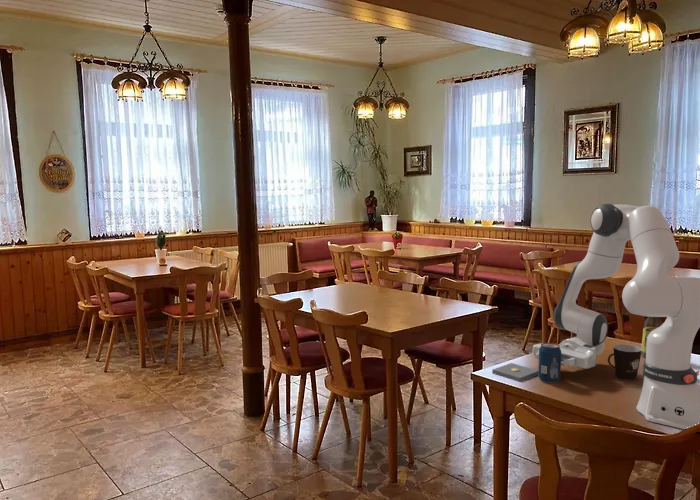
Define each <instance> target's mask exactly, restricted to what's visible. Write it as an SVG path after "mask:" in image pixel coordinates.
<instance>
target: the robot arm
mask: <svg viewBox="0 0 700 500" xmlns="http://www.w3.org/2000/svg"><path fill="white" fill-rule="evenodd" d="M590 227H591V229H592V231H593V234H592V235H591V238H590V240H589V241H590V242H589V245H588V249H587V253H586V255H585V257H584V258H583V259H582V260H581V261H578V262H576V264H575V265H574V267H573V268H572V271H571V272H570V275H569V277H568V280H567V282H566V285H565V287H564V290H563V292H562V295H561V297H560V300H559V302H558V303H557V305H556V307H555V309H554V310H553V314H552V319H553V321H554V324H555V326H556V327H557V328H558V329H561V330H565V331H569V332H571V333H573V334H575V336H573V337H570V338H566V339H563V341H561V342H560V343H559V344H558V345H559V347H560V350H561V366H563V367H567V366H572V367H577V368H581V369H585V370H586V369H591V368H594V367H596V364H597V357H598V356H599V355H600V354H601V353H602V352H603V350H604V349H605V346H606V344H605V343H606V341H605V340H606V338H607V335H608V331H609V323H608V320H607V318H606V316H605V315H604V314H603V313H599V312H597V311H595V310H591V309H588V308H586V307H583V306H580V305H578V304H577V302H576V301H577V299H578V296H579V293H580V291H581V289H582V286H583V284H584V283H585V282H586V281H587V280H598V279H607V278H610V277H612V276H614V275H616V273H618V272H619V270H620V268H621V265H622V261H623V258H624V253H625V248H626V243H627V242H629V241H630V242H631V246H632V248H633V249H632V250H633V252H634V257H635V261H636V265H637V266H636V272H635V275H634V276H633V277H632V278H631V280H629V281H628V282H627V283H626V284H625V286H624V287H623V290H622V293H621V299H622V303H623V306H624V308H625V309H626V310H627V311H628V312H629V314H632V315H636V316H641V317H647V318H648V317H660V318H665V321H664V322H662V325H661V326H660V327H658V328H656V329H654V330H653V331H651V332H650V333H649V335H648V337H647V343H646V358H645V360H644V361H643V367H642V379H643V383H642V389H641V392H640V396H639V400H638V401H637V405H636V410H637V411H638V412H639V413H641V415H643V416H644V417H645V419H646V421H649V422H651V423H656V424H661V425H664V426H669V427H673V428H676V429H677V428H678V429H682V430H685V428H687V427H689V426H692V425H694V424H696V423H698V422H700V383H699V382H698V376H699V375H700V371H699V370H697V371H695V370H694V369H693V368H692V367H691V358H692V351H693V350H692V349H693V343H694V340H695V337H696V335H697V332H698V331H699V329H700V277H696V276H695V277H694V276H691V277H690V276H688V277H686V276H684V277H683V276H681V277H672V276H669V275H668V274H667V272H668V271H669V270H672V269H673V268H674V267H675V266H676V265H677V264H678V263H679V261H680V251H679V248H678V245H677V243H676V240H675V237H674V235H673V232H672V230H671V227H670V224H669V223H668V221H667V219H666V217H665V216H664V215H663V213H662V212H661V210H660V209H659V208H657V207H656V206H653V205H643V206H642V205H641V206H638V205H632V204H624V203H623V204H619V203H617V204H616V203H615V204H612V203H603V204H599V205H597V206H596V207H595V208H594V210H593V211H592V212H591V215H590ZM542 343H543V342H542ZM542 343H537V344H533V346H532V355H533V356H534V357H535V359H537V360H539V348H540V347H541V344H542Z"/></svg>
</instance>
